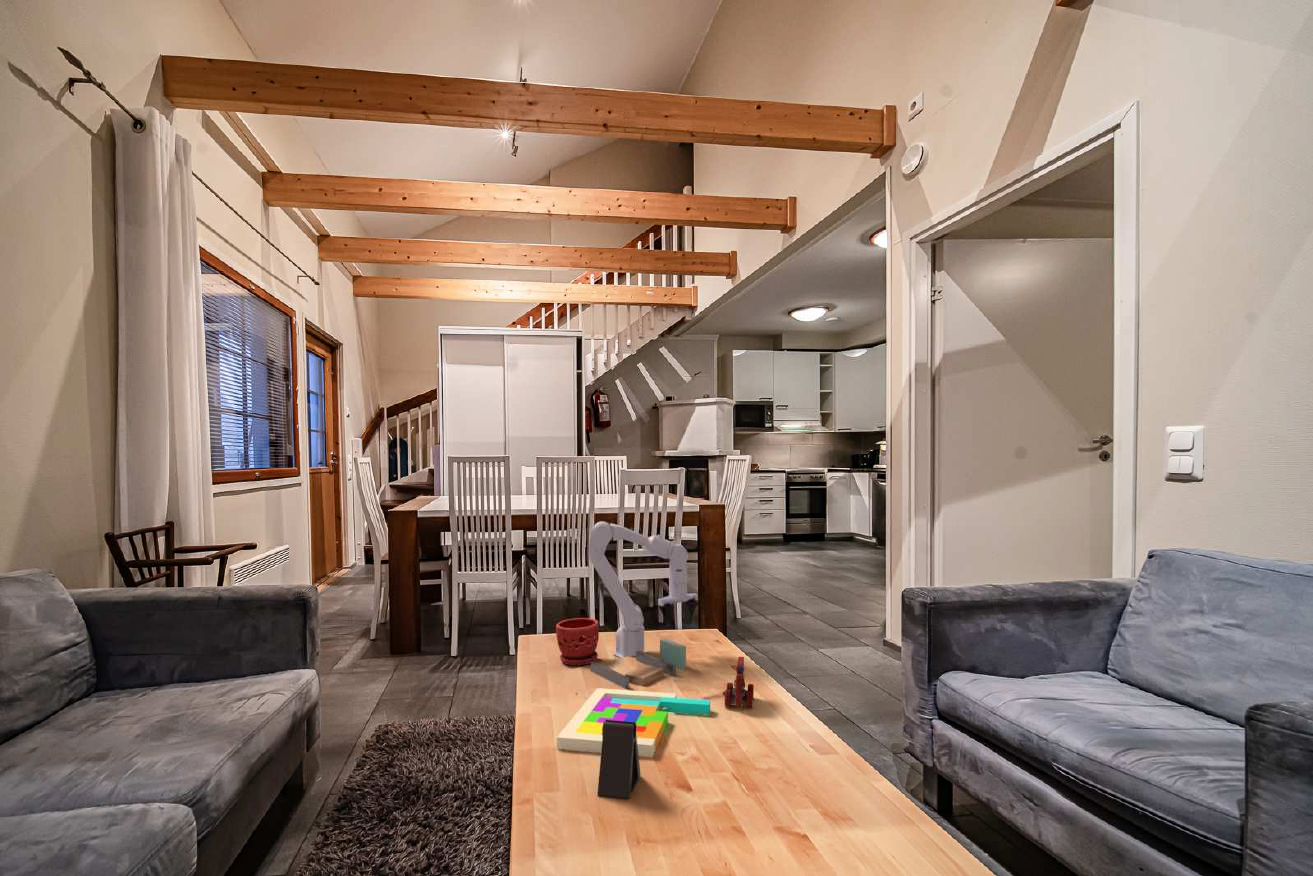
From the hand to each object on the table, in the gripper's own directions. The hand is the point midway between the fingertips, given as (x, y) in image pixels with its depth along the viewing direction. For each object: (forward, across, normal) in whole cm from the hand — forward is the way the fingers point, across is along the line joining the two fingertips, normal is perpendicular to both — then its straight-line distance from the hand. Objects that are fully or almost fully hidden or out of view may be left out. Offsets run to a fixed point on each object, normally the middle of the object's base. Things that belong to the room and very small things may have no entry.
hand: (678, 625), depth 202 cm
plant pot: (+10, -29, +14) cm, 33 cm away
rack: (+9, -23, -9) cm, 27 cm away
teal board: (+9, -9, -9) cm, 16 cm away
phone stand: (+10, -58, -58) cm, 82 cm away
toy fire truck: (+10, -12, -41) cm, 43 cm away
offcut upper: (+8, -23, -14) cm, 28 cm away
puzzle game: (+10, -40, -37) cm, 55 cm away
